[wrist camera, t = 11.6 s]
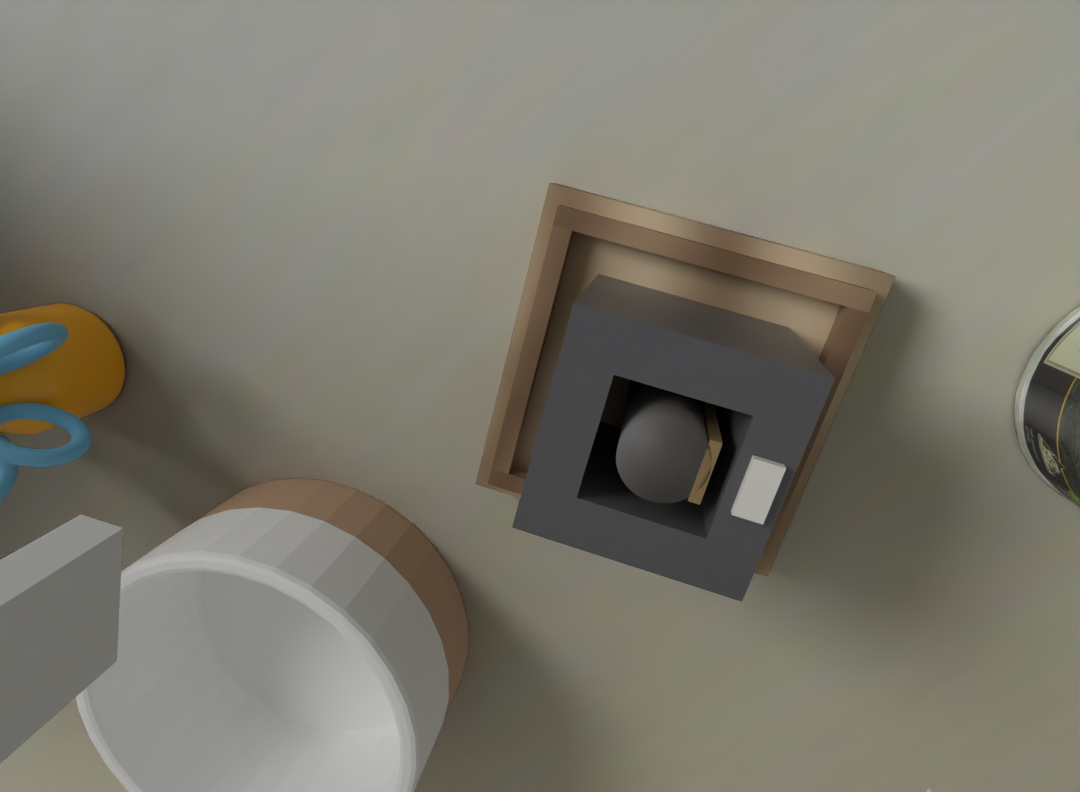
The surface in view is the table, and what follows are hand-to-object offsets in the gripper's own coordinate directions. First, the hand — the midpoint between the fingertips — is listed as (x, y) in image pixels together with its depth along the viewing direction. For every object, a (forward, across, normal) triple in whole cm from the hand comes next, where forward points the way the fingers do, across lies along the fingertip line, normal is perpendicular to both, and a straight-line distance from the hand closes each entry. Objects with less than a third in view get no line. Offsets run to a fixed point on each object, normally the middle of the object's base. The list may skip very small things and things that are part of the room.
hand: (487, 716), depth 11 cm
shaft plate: (+22, +3, 0) cm, 22 cm away
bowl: (+22, -11, -18) cm, 31 cm away
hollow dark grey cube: (+20, +3, +1) cm, 20 cm away
